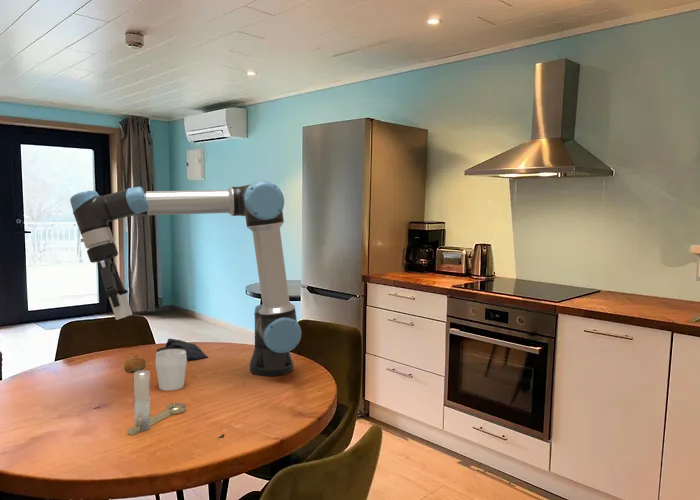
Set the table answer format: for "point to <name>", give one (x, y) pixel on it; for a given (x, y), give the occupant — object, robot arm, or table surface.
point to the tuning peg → (148, 404)
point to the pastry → (135, 363)
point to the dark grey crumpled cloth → (191, 349)
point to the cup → (171, 368)
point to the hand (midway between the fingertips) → (124, 317)
